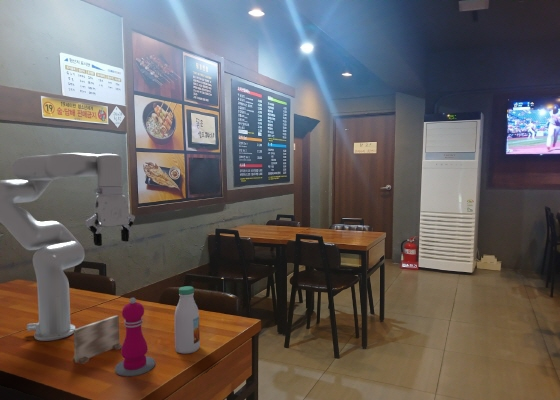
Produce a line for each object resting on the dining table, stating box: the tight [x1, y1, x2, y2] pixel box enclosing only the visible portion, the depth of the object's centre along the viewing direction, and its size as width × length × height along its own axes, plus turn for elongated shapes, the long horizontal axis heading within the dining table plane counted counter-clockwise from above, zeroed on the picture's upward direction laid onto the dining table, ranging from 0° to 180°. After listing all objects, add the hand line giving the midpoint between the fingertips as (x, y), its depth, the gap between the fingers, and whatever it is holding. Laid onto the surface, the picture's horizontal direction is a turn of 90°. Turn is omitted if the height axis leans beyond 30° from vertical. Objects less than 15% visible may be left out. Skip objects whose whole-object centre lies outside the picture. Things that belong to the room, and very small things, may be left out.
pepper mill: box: [120, 297, 149, 370], centre depth 112 cm, size 7×7×20 cm
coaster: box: [114, 355, 156, 377], centre depth 113 cm, size 11×11×1 cm
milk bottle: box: [174, 285, 201, 355], centre depth 124 cm, size 8×8×20 cm
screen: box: [72, 314, 123, 365], centre depth 121 cm, size 14×5×10 cm, turn 146°
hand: (112, 243), depth 129 cm, fingers open, 9 cm apart
